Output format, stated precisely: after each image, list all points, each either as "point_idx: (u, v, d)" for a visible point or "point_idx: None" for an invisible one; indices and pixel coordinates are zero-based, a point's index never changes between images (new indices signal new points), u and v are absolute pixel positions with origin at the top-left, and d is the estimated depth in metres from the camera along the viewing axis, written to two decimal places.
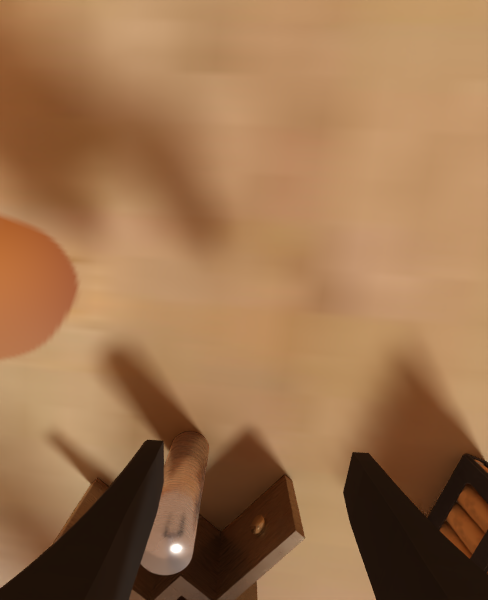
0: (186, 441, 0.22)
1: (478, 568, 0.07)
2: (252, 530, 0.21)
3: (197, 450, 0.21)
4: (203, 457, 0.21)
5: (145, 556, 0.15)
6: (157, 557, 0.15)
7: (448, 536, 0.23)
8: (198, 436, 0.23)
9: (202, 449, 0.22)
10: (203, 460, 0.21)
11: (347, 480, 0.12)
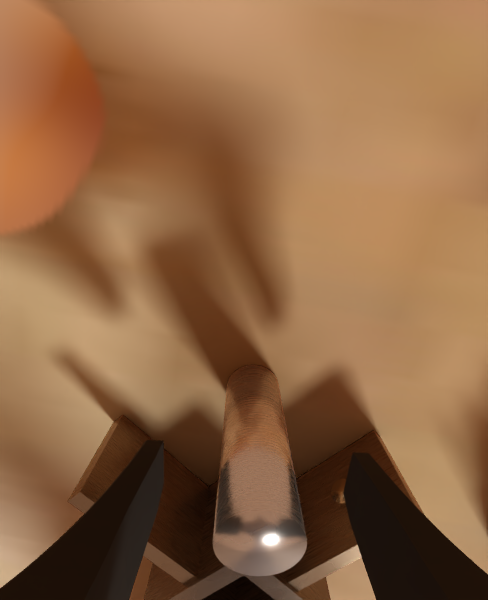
0: (255, 377, 0.15)
1: (478, 568, 0.07)
2: (335, 498, 0.16)
3: (273, 391, 0.15)
4: (280, 401, 0.15)
5: (227, 549, 0.09)
6: (247, 552, 0.09)
7: None
8: (268, 373, 0.16)
9: (277, 390, 0.15)
10: (281, 406, 0.15)
11: (347, 480, 0.12)
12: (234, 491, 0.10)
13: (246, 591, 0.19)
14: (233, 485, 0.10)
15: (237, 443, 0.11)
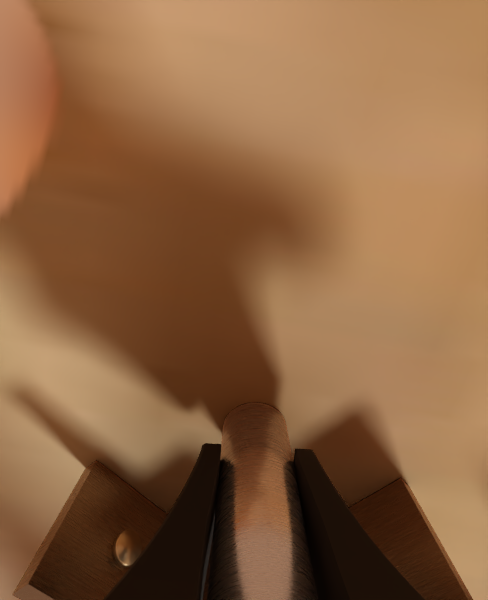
0: (258, 422, 0.12)
1: (389, 563, 0.07)
2: None
3: (280, 441, 0.12)
4: (290, 453, 0.12)
5: None
6: None
7: None
8: (273, 413, 0.13)
9: (285, 437, 0.12)
10: (292, 460, 0.12)
11: None
12: None
13: None
14: None
15: (234, 533, 0.08)
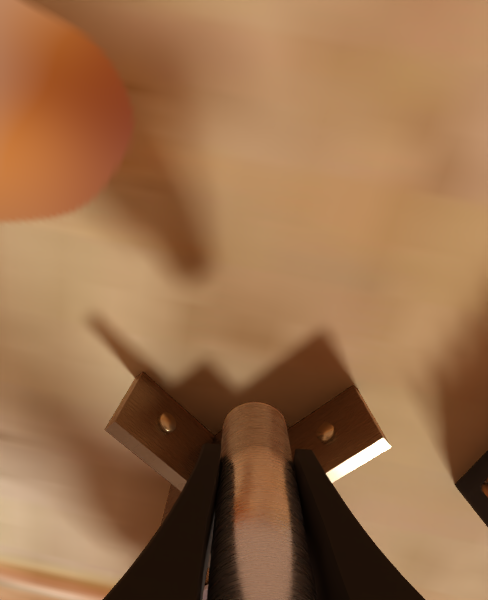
0: (258, 421, 0.12)
1: (389, 563, 0.07)
2: (319, 437, 0.19)
3: (280, 440, 0.12)
4: (290, 453, 0.12)
5: None
6: None
7: None
8: (273, 412, 0.13)
9: (285, 436, 0.12)
10: (291, 459, 0.12)
11: None
12: None
13: None
14: None
15: (234, 532, 0.08)
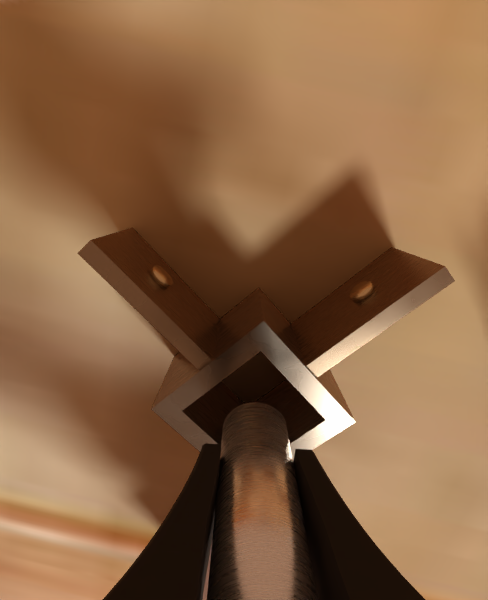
0: (258, 421, 0.12)
1: (389, 563, 0.07)
2: (354, 295, 0.15)
3: (280, 440, 0.12)
4: (290, 453, 0.12)
5: None
6: None
7: None
8: (273, 412, 0.13)
9: (285, 437, 0.12)
10: (292, 459, 0.12)
11: None
12: None
13: None
14: None
15: (234, 531, 0.08)
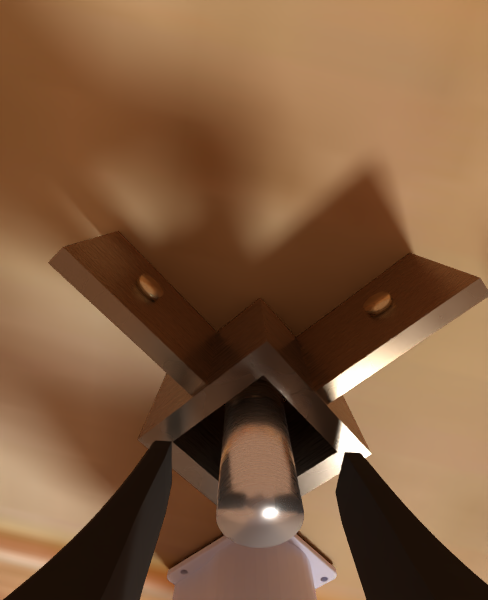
0: None
1: (465, 567, 0.07)
2: (369, 309, 0.13)
3: None
4: None
5: (229, 522, 0.10)
6: (248, 524, 0.10)
7: None
8: None
9: None
10: (280, 393, 0.15)
11: (339, 480, 0.12)
12: (236, 468, 0.10)
13: None
14: (235, 463, 0.11)
15: (238, 426, 0.12)
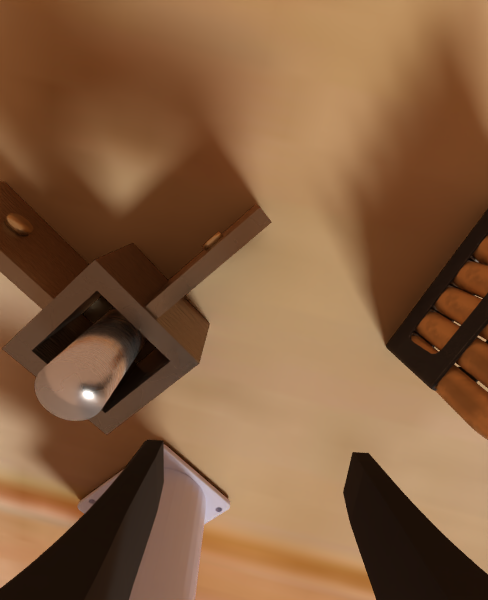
0: None
1: (478, 568, 0.07)
2: None
3: None
4: None
5: (47, 396, 0.13)
6: (62, 399, 0.13)
7: (455, 293, 0.18)
8: None
9: None
10: None
11: (347, 480, 0.12)
12: None
13: (134, 375, 0.19)
14: (59, 354, 0.13)
15: (81, 335, 0.15)
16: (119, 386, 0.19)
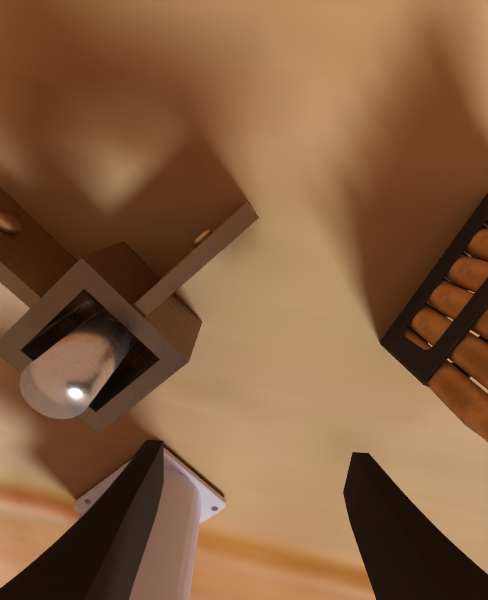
0: None
1: (478, 568, 0.07)
2: None
3: None
4: None
5: (32, 394, 0.12)
6: (48, 397, 0.13)
7: (448, 288, 0.17)
8: None
9: None
10: None
11: (347, 480, 0.12)
12: (42, 354, 0.13)
13: (126, 374, 0.19)
14: (45, 352, 0.13)
15: None
16: (111, 385, 0.18)
